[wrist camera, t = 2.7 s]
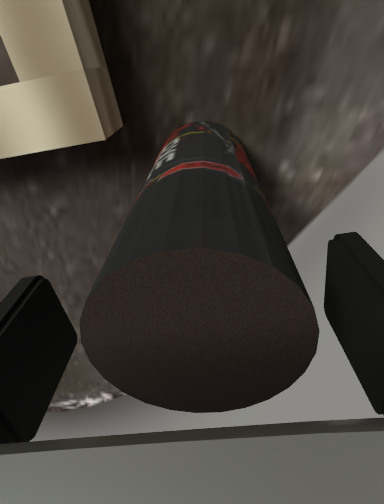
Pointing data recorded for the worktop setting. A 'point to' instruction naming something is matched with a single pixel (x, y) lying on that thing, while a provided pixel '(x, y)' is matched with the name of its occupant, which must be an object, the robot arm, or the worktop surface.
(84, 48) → the holder
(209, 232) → the deodorant
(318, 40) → the worktop surface
